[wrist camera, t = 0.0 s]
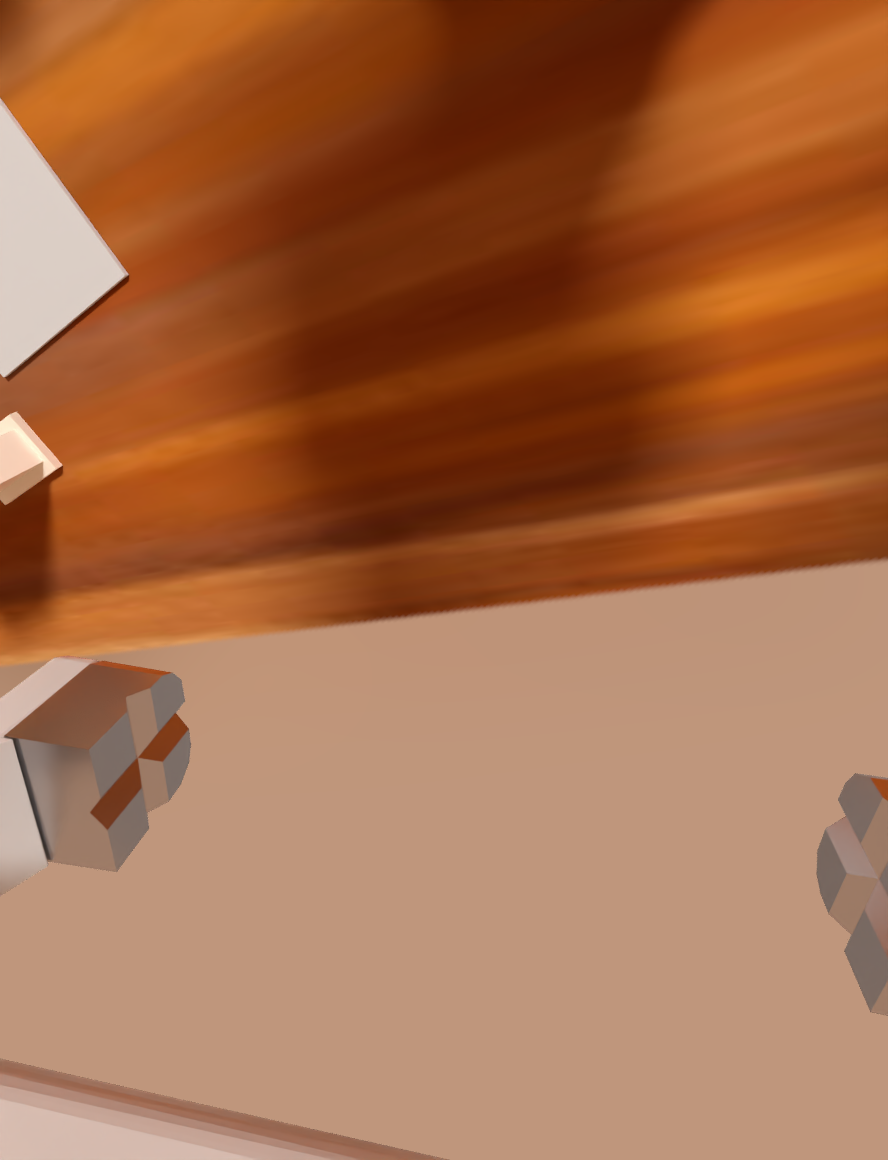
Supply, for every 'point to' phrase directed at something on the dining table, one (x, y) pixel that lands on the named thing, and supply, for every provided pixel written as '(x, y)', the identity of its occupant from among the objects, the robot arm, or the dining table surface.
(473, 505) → the dining table surface
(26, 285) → the mat
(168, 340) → the dining table surface
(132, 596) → the dining table surface
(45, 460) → the menu stand
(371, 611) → the dining table surface
